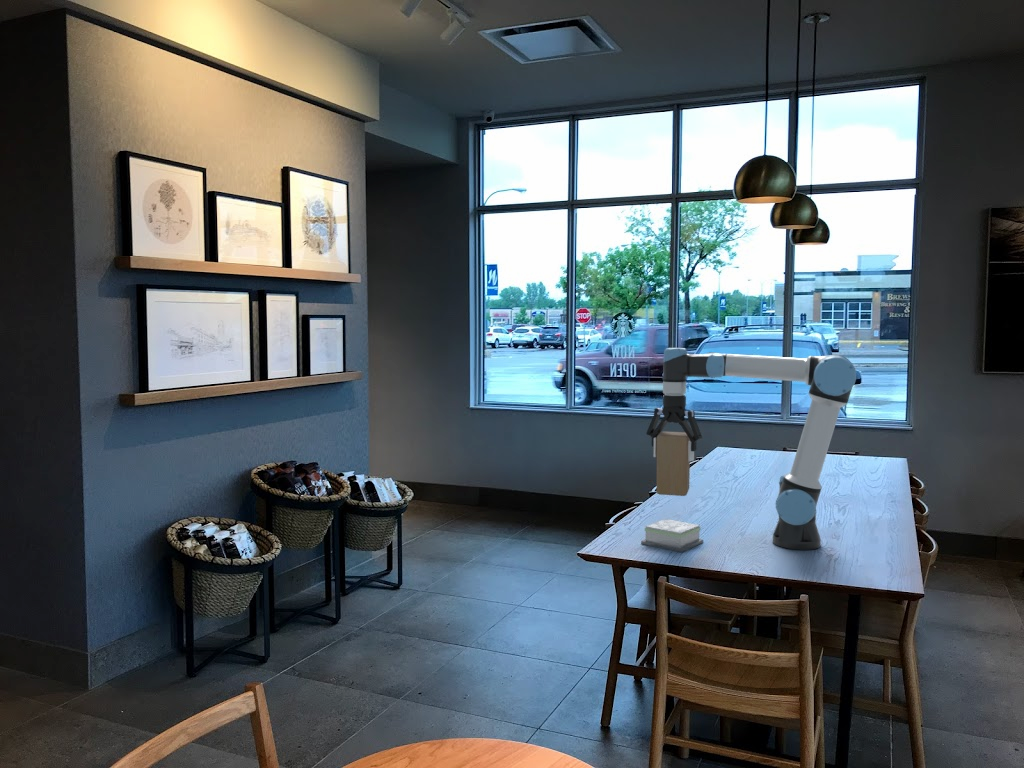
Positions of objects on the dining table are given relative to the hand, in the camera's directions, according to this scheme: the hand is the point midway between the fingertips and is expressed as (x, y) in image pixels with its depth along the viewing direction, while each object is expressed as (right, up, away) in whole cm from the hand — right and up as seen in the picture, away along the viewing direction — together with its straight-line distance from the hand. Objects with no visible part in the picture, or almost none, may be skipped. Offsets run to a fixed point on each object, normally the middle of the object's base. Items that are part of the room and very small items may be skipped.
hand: (673, 458), depth 267 cm
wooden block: (0, -12, +1) cm, 12 cm away
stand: (0, -28, +1) cm, 28 cm away
